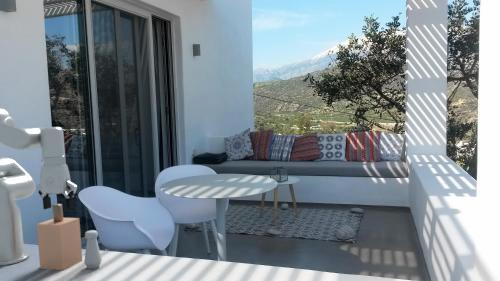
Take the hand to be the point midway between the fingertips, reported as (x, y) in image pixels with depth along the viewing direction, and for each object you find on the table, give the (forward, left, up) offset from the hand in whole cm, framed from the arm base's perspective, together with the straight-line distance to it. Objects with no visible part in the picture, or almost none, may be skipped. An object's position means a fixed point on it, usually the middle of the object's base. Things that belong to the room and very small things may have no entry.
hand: (58, 208), depth 158 cm
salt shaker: (+13, 0, -21) cm, 25 cm away
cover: (0, 0, -21) cm, 21 cm away
